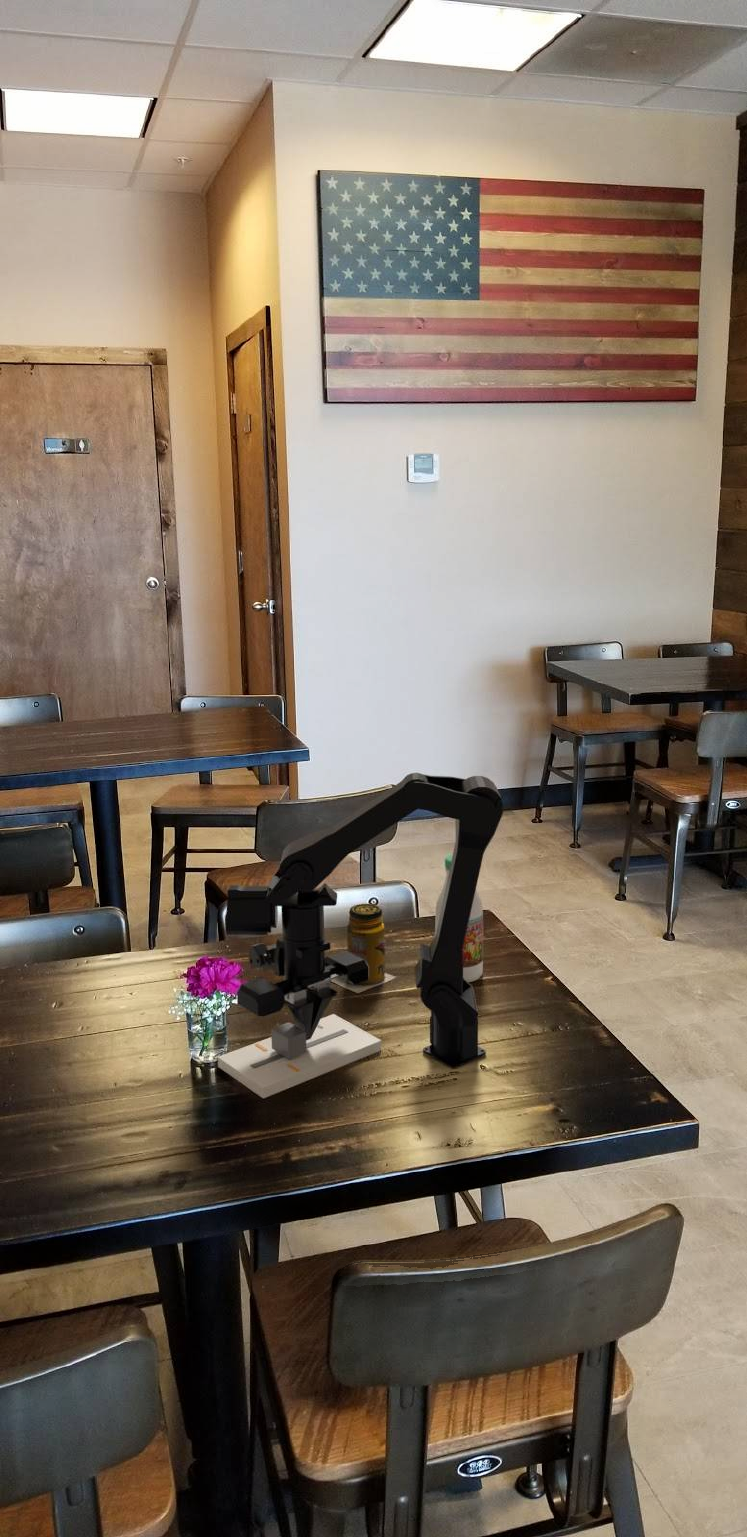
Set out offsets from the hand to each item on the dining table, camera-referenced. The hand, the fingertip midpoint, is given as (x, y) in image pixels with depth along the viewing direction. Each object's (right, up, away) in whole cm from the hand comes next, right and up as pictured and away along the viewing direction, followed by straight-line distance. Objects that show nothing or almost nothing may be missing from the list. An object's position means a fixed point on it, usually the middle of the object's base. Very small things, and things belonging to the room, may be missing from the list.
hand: (306, 1039), depth 157 cm
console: (-1, -3, 0) cm, 3 cm away
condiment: (+7, +3, +25) cm, 27 cm away
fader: (-2, -1, -2) cm, 3 cm away
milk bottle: (+23, +4, +27) cm, 36 cm away
